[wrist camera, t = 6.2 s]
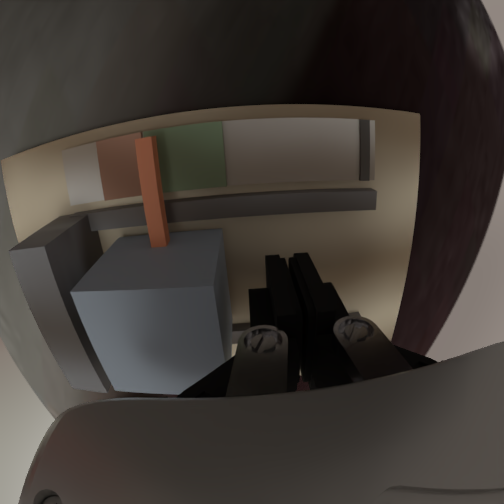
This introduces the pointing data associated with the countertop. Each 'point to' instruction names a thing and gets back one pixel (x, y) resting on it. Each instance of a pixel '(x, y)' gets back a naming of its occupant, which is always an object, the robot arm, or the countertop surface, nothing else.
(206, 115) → the gauge board
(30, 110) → the countertop surface
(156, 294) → the slider block with pointer
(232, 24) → the countertop surface
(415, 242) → the countertop surface
